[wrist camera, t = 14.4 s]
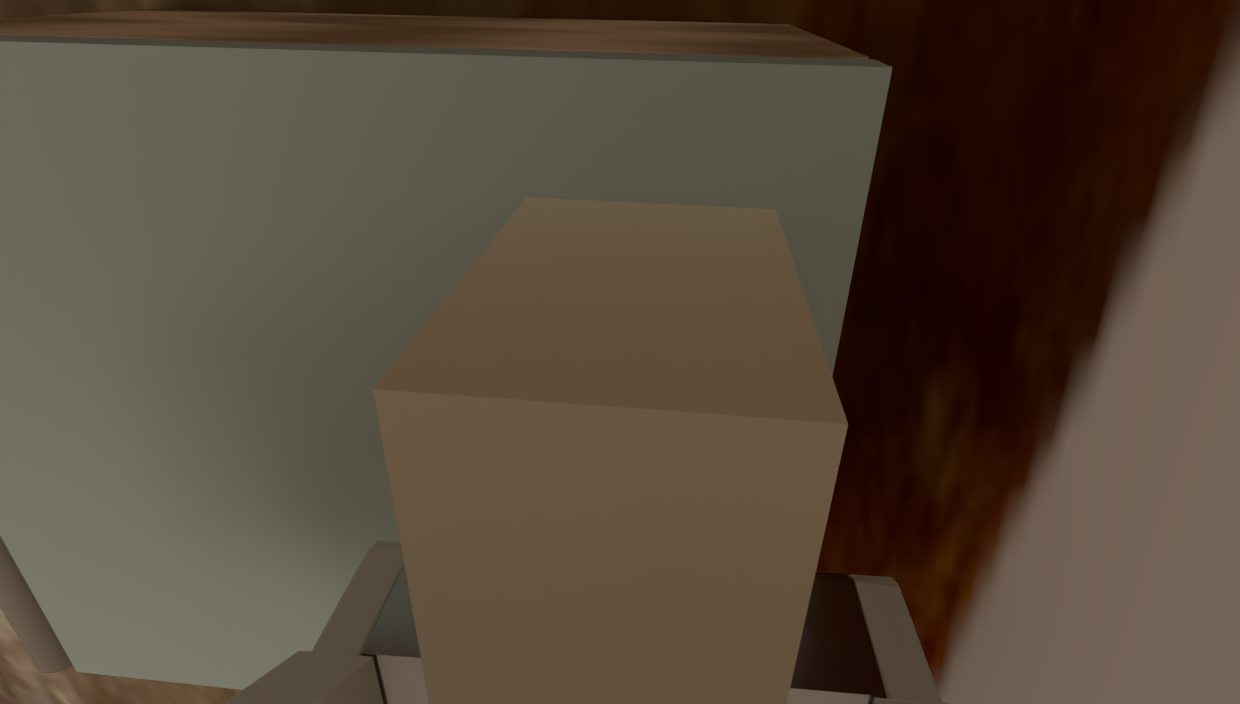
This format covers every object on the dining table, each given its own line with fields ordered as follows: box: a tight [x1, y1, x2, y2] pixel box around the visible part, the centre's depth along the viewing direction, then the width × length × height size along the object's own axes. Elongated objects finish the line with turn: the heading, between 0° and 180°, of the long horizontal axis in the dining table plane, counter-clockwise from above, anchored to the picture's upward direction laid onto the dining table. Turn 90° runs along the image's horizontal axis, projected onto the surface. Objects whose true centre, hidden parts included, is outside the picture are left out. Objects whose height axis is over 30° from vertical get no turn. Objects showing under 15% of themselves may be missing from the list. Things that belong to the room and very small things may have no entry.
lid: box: [0, 35, 892, 690], centre depth 11 cm, size 15×12×1 cm
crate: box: [0, 9, 869, 60], centre depth 15 cm, size 14×12×7 cm
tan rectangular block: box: [373, 197, 848, 704], centre depth 8 cm, size 3×9×4 cm, turn 179°
